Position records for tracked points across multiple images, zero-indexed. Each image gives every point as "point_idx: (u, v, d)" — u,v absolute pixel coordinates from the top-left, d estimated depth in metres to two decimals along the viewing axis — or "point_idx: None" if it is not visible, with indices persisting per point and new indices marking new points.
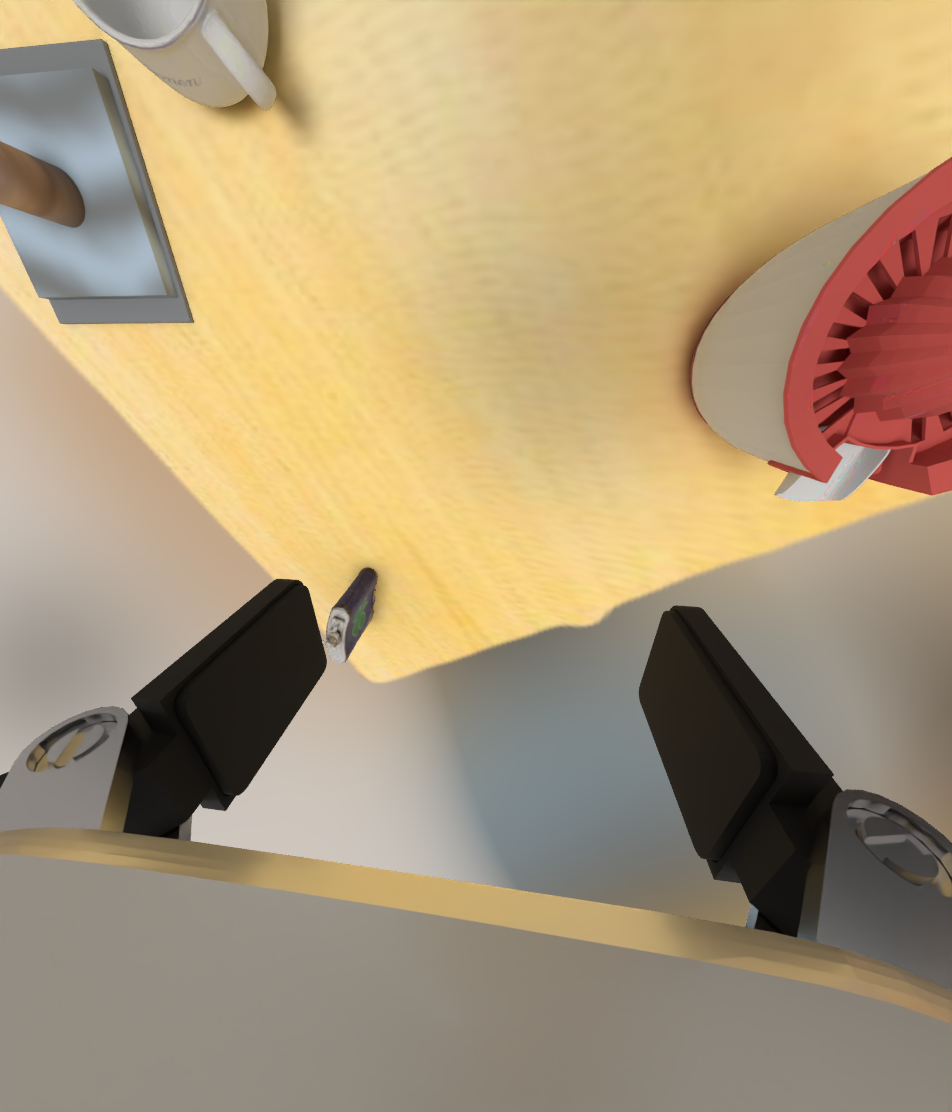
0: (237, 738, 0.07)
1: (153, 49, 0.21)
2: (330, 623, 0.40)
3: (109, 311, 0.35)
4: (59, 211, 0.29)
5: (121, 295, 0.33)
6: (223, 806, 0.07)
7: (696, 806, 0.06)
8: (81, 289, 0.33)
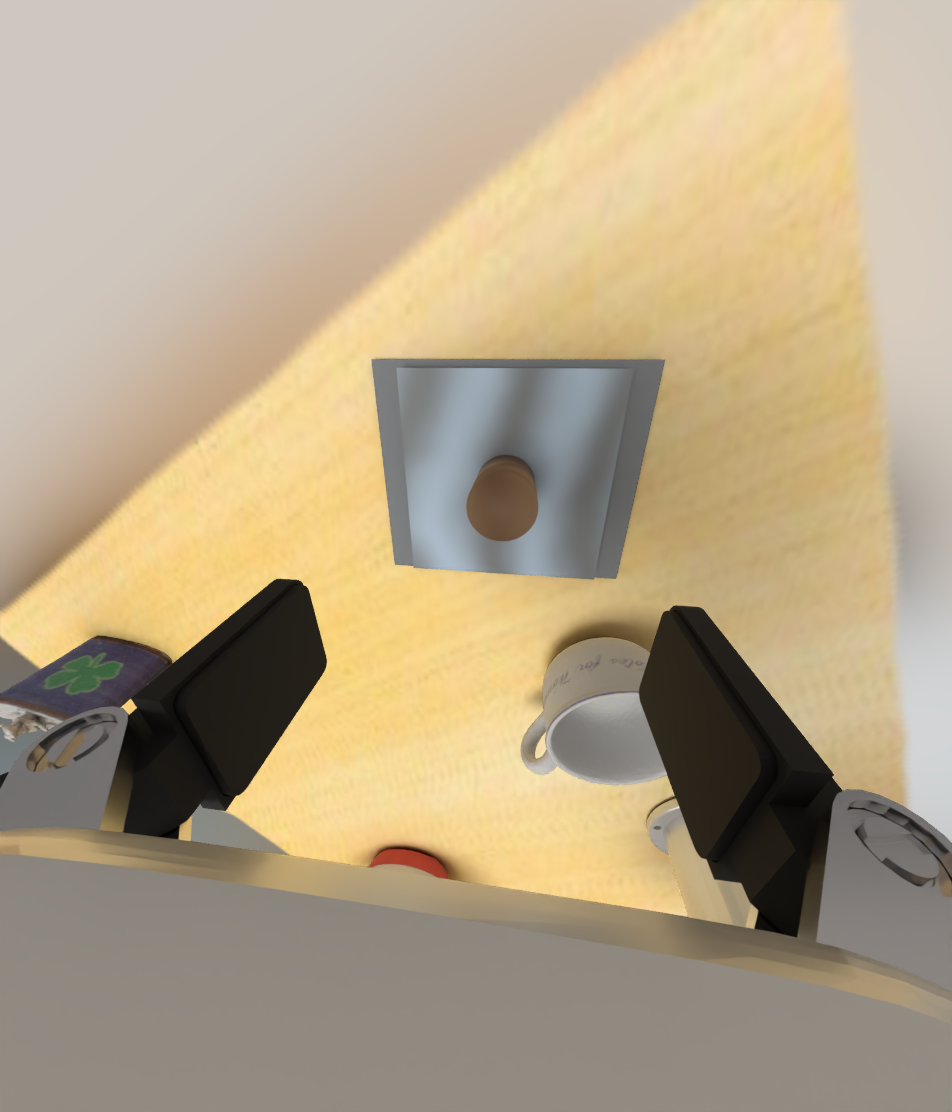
0: (237, 738, 0.07)
1: None
2: (49, 718, 0.30)
3: (395, 460, 0.25)
4: None
5: (409, 508, 0.25)
6: (224, 806, 0.07)
7: (696, 806, 0.06)
8: (412, 453, 0.23)
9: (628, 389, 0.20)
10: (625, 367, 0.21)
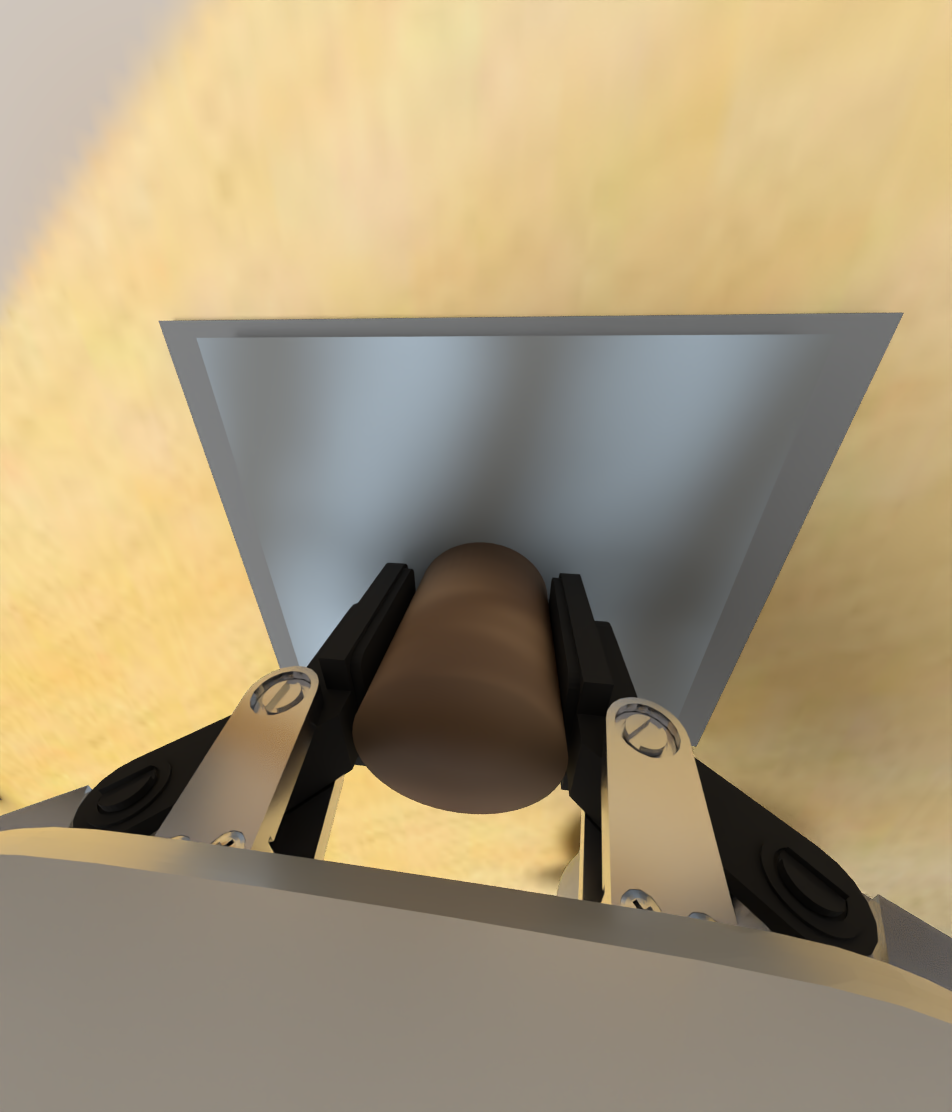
0: None
1: None
2: None
3: None
4: None
5: (291, 633, 0.12)
6: None
7: None
8: (275, 534, 0.11)
9: (808, 393, 0.07)
10: None
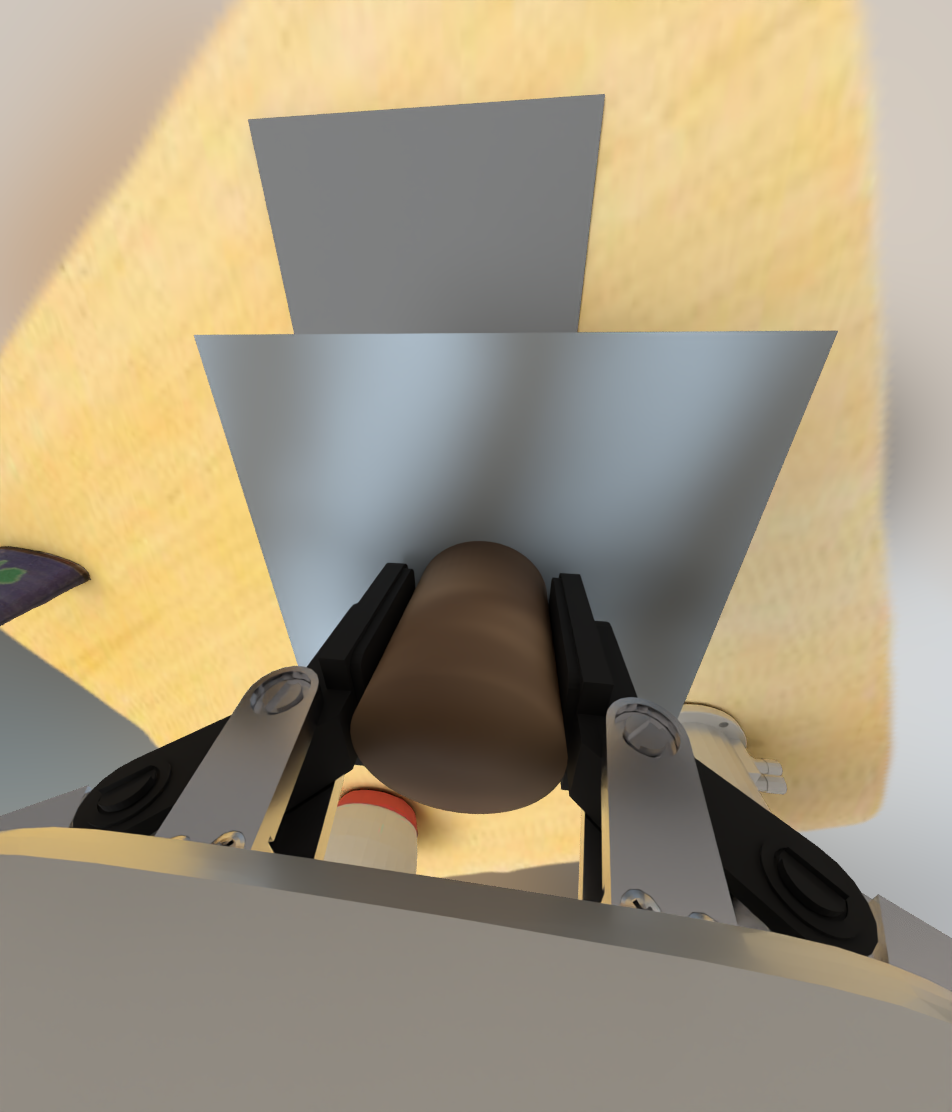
0: None
1: None
2: None
3: (296, 274, 0.21)
4: None
5: (290, 632, 0.12)
6: None
7: None
8: (273, 533, 0.10)
9: (809, 390, 0.07)
10: (557, 109, 0.17)
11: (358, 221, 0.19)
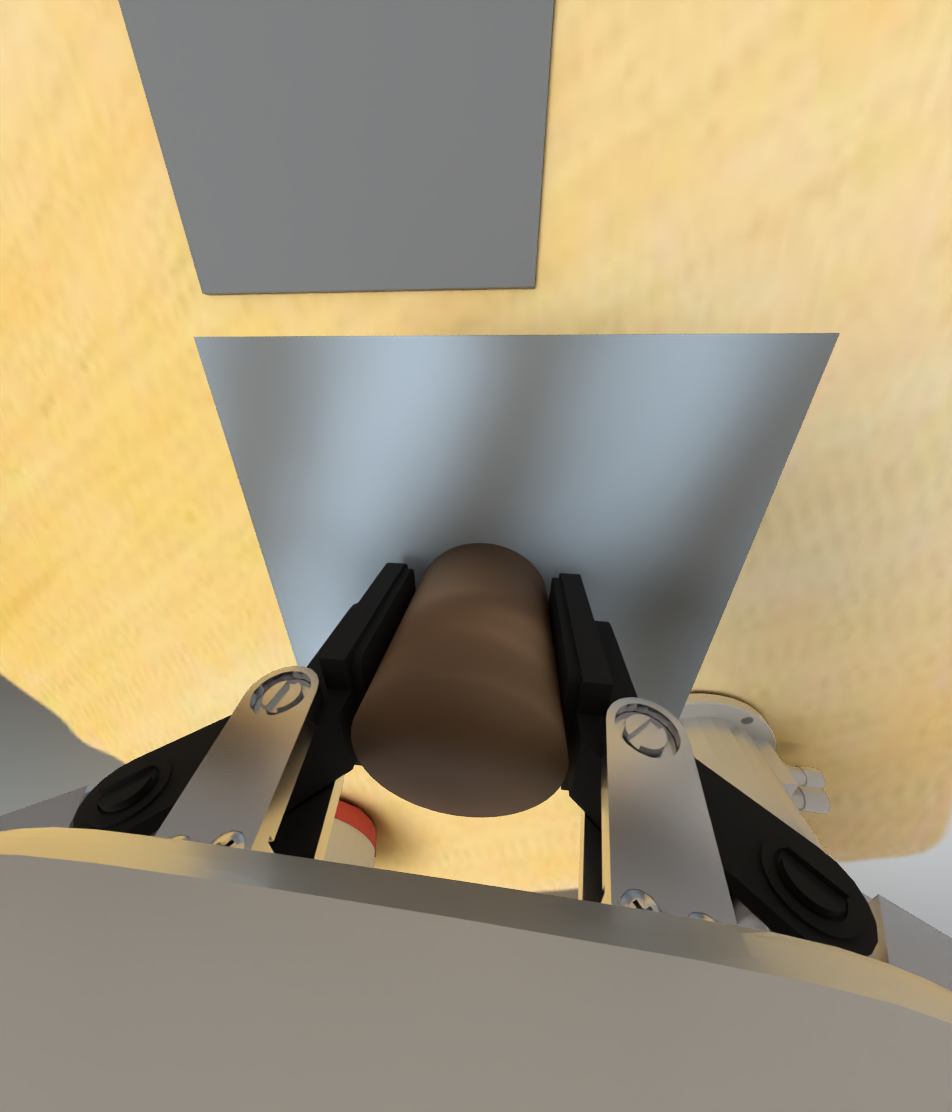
0: None
1: None
2: None
3: (151, 44, 0.15)
4: None
5: (290, 634, 0.12)
6: None
7: None
8: (273, 535, 0.10)
9: (810, 393, 0.07)
10: None
11: None
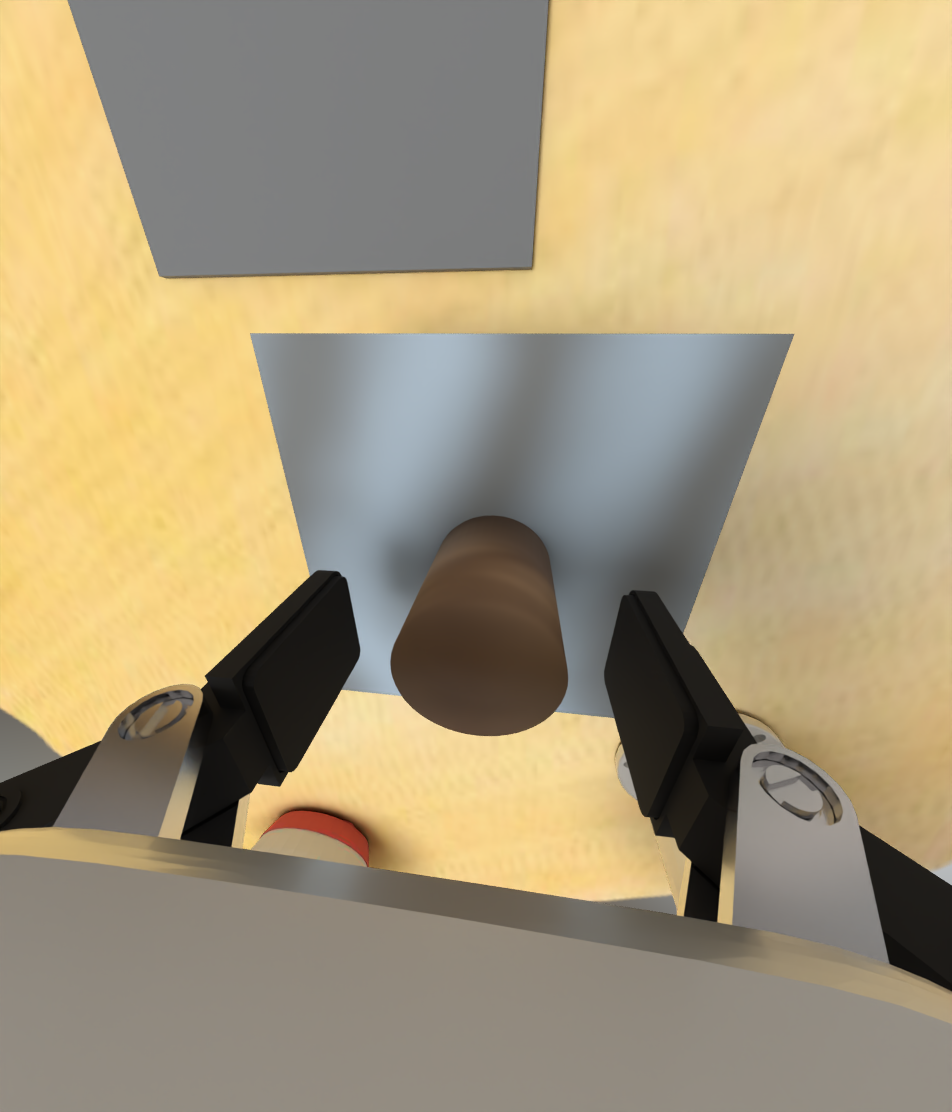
0: (291, 718, 0.07)
1: None
2: None
3: None
4: None
5: None
6: (277, 782, 0.07)
7: (642, 770, 0.07)
8: (308, 509, 0.12)
9: (772, 383, 0.09)
10: None
11: None
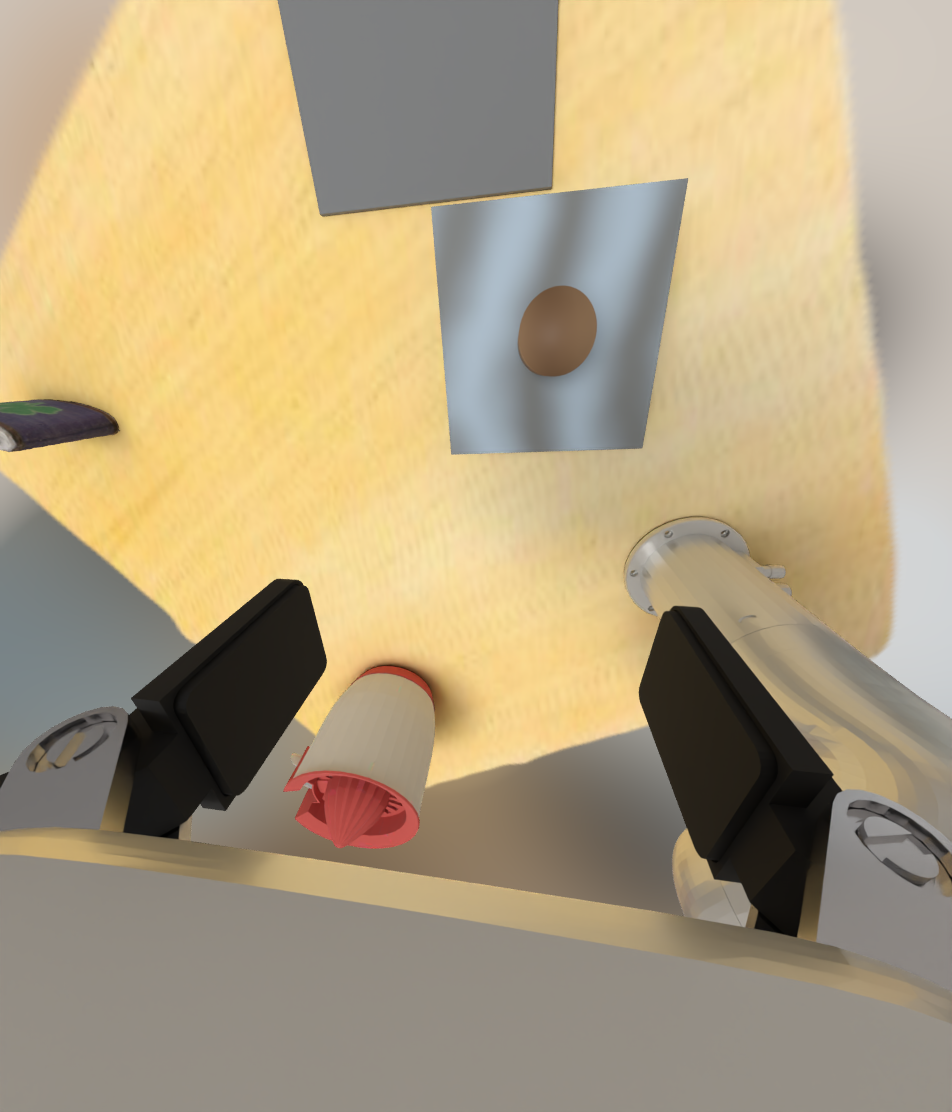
0: (237, 738, 0.07)
1: None
2: None
3: (299, 39, 0.23)
4: (524, 364, 0.21)
5: (446, 382, 0.24)
6: (223, 806, 0.07)
7: (697, 806, 0.06)
8: (448, 313, 0.22)
9: (682, 205, 0.19)
10: None
11: None
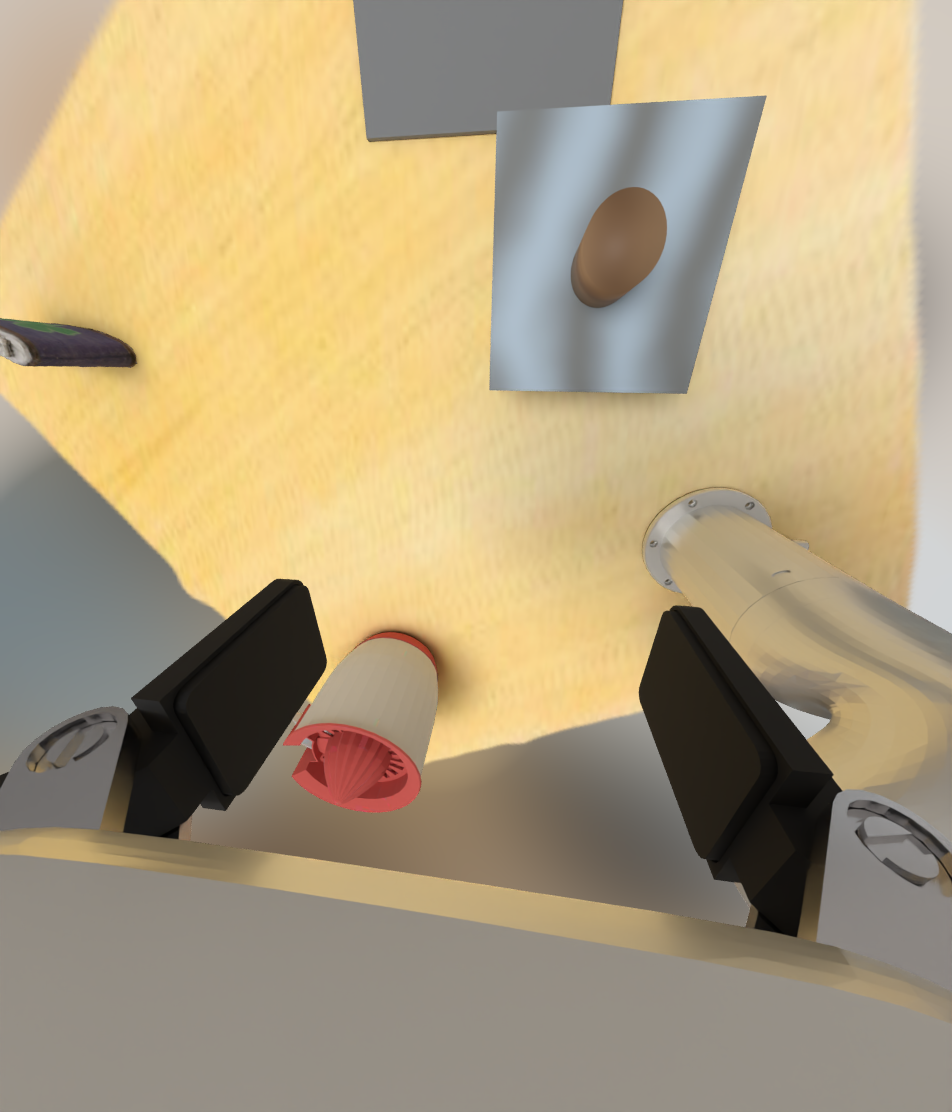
0: (237, 738, 0.07)
1: None
2: None
3: None
4: (579, 287, 0.21)
5: (492, 310, 0.23)
6: (224, 806, 0.07)
7: (696, 806, 0.06)
8: (503, 232, 0.21)
9: (756, 125, 0.18)
10: None
11: None
